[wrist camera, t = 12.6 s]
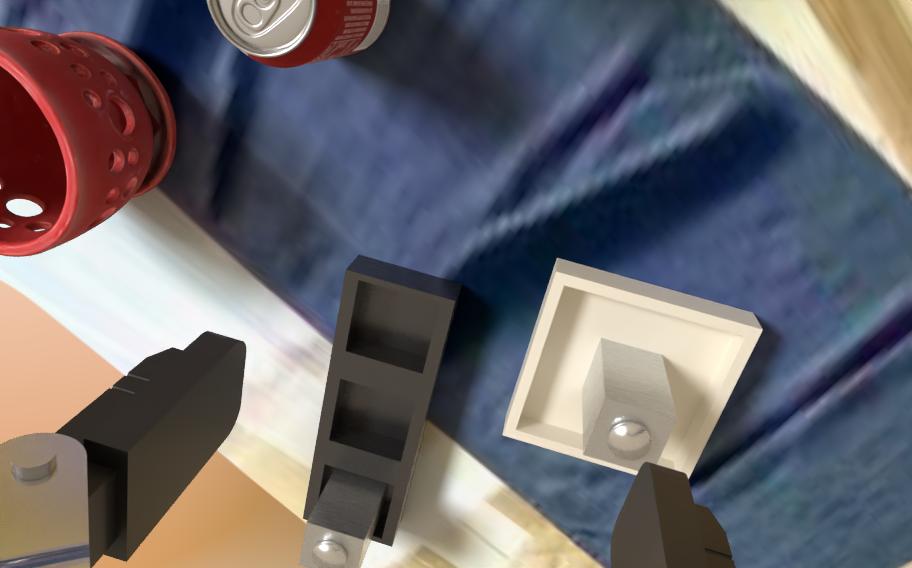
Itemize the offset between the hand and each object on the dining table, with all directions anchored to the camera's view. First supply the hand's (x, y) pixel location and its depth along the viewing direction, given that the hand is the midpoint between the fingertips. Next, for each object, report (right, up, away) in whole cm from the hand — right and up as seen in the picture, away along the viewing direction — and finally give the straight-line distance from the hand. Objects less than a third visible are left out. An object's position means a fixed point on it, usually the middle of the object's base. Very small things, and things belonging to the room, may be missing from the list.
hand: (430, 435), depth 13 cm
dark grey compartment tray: (-6, -7, +40) cm, 41 cm away
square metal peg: (-8, -14, +43) cm, 46 cm away
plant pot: (-25, +15, +35) cm, 45 cm away
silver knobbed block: (+13, -4, +35) cm, 37 cm away
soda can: (-7, +21, +29) cm, 37 cm away
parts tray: (+13, -3, +36) cm, 38 cm away
